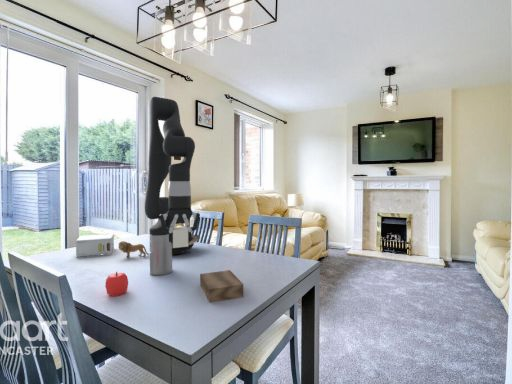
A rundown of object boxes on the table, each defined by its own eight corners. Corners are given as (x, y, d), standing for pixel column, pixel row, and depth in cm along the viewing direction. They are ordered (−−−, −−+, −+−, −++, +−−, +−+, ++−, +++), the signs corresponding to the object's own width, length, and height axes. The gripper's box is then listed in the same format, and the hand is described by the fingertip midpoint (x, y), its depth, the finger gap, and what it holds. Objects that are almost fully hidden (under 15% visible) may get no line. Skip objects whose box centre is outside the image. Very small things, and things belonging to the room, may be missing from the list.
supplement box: (75, 258, 146) (75, 240, 145) (81, 251, 158) (80, 235, 158) (111, 254, 152) (111, 237, 152) (114, 248, 164) (113, 233, 164)
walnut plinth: (209, 304, 93) (209, 289, 93) (200, 286, 108) (200, 274, 107) (243, 298, 97) (243, 284, 97) (230, 282, 112) (229, 270, 112)
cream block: (173, 247, 94) (172, 230, 94) (172, 244, 99) (172, 227, 98) (188, 246, 96) (188, 229, 95) (187, 243, 100) (186, 226, 100)
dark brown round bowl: (190, 243, 175) (191, 229, 174) (205, 256, 153) (205, 240, 152) (149, 248, 162) (149, 233, 161) (158, 263, 141) (158, 245, 140)
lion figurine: (118, 260, 141) (118, 242, 141) (118, 257, 146) (118, 240, 146) (149, 256, 148) (149, 239, 147) (148, 254, 152) (148, 237, 152)
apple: (110, 300, 95) (109, 277, 95) (101, 294, 100) (100, 272, 100) (133, 292, 101) (132, 271, 101) (123, 287, 106) (122, 266, 106)
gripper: (157, 195, 90) (158, 247, 91) (202, 194, 95) (202, 243, 96) (158, 194, 98) (158, 241, 98) (199, 193, 102) (199, 239, 103)
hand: (180, 242), depth 97 cm, fingers closed on cream block, 5 cm apart
